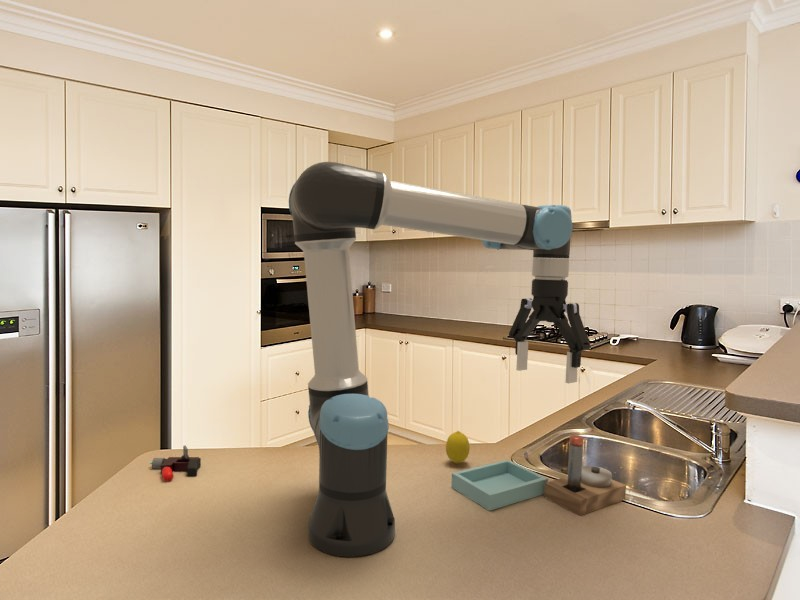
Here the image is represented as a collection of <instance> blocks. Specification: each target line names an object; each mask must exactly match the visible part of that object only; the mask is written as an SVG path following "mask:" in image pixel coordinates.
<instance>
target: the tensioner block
mask: <svg viewBox="0 0 800 600" xmlns="http://www.w3.org/2000/svg"><path fill="white" fill-rule="evenodd" d="M567 481H568V475H567V476H564V477H560V478H557V479H553V480H551V481H548V482H546V483H545V490H544V494H543V497H544V498H546V499H547V500H549V501H551V502H553V503H555V504H557V505H559V506H560V507H562V508H564V509H566V510H568V511H569V512H571V513H574V514H576V515H578V516H583V515H585V514H589V513H591V512H593V511H596V510H599V509H602V508H605V507H608V506H611V505H614V504H616V503H619V502H622V501H624V500H623V499H625V500H626V492H627V485H626V484H624V483H622V482H619V481H617V480H615V479H613V473H612V472H611V471H610V470H608V469H606V468H604V467H601V466H594V465H584V466H583V465H582V475H581V491H579V492H576V493H574V492H572V491H570V490H568V489H567Z"/></svg>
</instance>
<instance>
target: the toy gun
mask: <svg viewBox="0 0 800 600" xmlns="http://www.w3.org/2000/svg"><path fill="white" fill-rule="evenodd" d="M182 448H183V449H182V452H183V455H182V456H168V457H167V458H165V457H154V458H153V459H152V461H151V462H149V465H151V469H152V470H160V475H161V476H162V480H163V481H164V482H171V481H172V480H173V479H174V472H175V473H180V472H181V473H183V472H184V473H185V472H186V474H187V477H197V476H198V470H199V469H200V468H202V466H201V465H202V463H201V462H202V461H201V459H202V457H199V456H190V455H189V453H188V452H189V449H188V447H187V446H186V445H183V447H182Z"/></svg>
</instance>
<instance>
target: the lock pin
mask: <svg viewBox="0 0 800 600" xmlns="http://www.w3.org/2000/svg"><path fill="white" fill-rule="evenodd" d="M568 445H569V449H568V462H567V463H568V466H567V476H568V481H567V489H568V490H570V491H572V492H574V493H576V492H579V491H581V475H582V467H583V457H584V437H583V436H582V435H577V434H571V435H569V444H568Z"/></svg>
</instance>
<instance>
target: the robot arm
mask: <svg viewBox="0 0 800 600" xmlns="http://www.w3.org/2000/svg"><path fill="white" fill-rule="evenodd" d="M288 209H289V212H290V216H291V217H292V227H293V238H294V245H296V246H297V247H298V248H300V250H302V252H303V258H304V259H303V260H304V267H305V281H306V291H307V302H308V303H307V304H308V310H309V311H308V312H309V323H310V334H311V345H312V357H313V366H314V369H313V370H314V375H313V377H312V378H311V379H310V380H309V382H307V388H308V399H309V400H308V401H309V405H308V413H307V415H308V416H307V417H308V422H309V426H310V428H311V430H312V432H313V434H314V437H315V441H316V443H317V446H318V450H319V451H318V453H319V457H318V459H319V461H318V462H319V464H318V465H319V466H318V467H319V469H318V472H319V473H318V493H317V496H316V498H315V503H314V504H313V507H312V510H311V514H310V516H309V518H308V523H307V525H308V527H307V534H308V535H307V537H308V541H309V542H310V544H311V545H312V546H313V547H315V549H318V550H319V551H321V552H323V553H324V554H325V553H326V554H329V555H332V556H338V557H347V558H351V557H353V558H354V557H362V556H368V555H372V554H375V553H378V552H380V551H382V550H384V549H385V548H387V547H388V546H389V545H391V544H392V542H393V540H394V538H395V537H396V521H395V516H394V512H393V510H392V506H391V503H390V500H389V497H388V491H387V465H388V463H387V459H388V432H389V428H390V427H389V426H390V425H389V424H390V423H389V419H388V410H387V407H386V406H385V404H384V403H383V402H382V401H381V400H380V399H377V398H376V397H370V395H369V385H368V384H369V383H368V377H367V375H365V374H364V373H362V371H360V369H359V357H358V355H359V354H358V346H357V345H358V344H357V343H358V342H357V334H356V333H357V331H356V321H355V308H354V297H353V294H354V292H353V282H352V272H351V271H352V269H351V268H352V267H351V259H350V256H351V255H350V248H351V247H352V245H353V244H354V243H355V242H356V241H357V235H356V234H357V233H356V229H357V228H358V229H359V228H361V229H369V230H377V229H378V228H379V227H380V226H382V225H383V226H387V227H394V228H400V229H401V228H402V229H407V230H414V231H421V232H426V233H427V232H428V233H435V234H441V235H447V236H452V237H453V236H454V237H460V238H465V239H472V240H473V239H474V240H478V241H479V240H480V241H481V243H482V245H483V247H484V248H485V249H491V250H492V249H493V250H498V251H499V250H517V251H518V250H521V251H522V250H523V251H525V250H528V251H533V253H532V255H533V256H532V270H531V271H532V272H531V275H532V276H533V277H534V278H533V279H532V280H531V291H530V292H531V294H530V295H532V297H533V299H532V298H521V300H520V306H519V310H518V312H517V315H516V317H515V318H514V321H513V323H512V326H511V328H510V330H509V332H508V337H509V338H512V339H514V341H515V348H514V349H515V355H516V371H520V372H521V371H528V360H529V359H528V355H529V341H527V340H528V337H529V335H530V334H531V333H532V332H533V331H534V330H535V328H536V327H537V326H538V324H540V322H547V323H553V324H554V326H556V327H557V329H558V331H559V332H560V334H561V336H562V337H563V339H564V341H565V343H566V344H567V347H568V348H569V350H568V351H566V365H565V381H564V382H565V383H566V384H573V383H577V382H578V369H579V368H580V367H581V365H582V364H581V362H582V361H581V360H582V352H583V351H588V350H591V348H592V347H591V344H590V340H589V337H588V334H587V332H586V329H585V327H584V323H583V320H582V318H581V315H580V305H579V303H578V302H573V303H570V302H569V303H567V302H566V300H567V299H566V298H567V297H568V294H569V293H568V292H569V281H568V279H566V278H569V271H570V255H571V254H570V252H571V237H572V234H573V220H572V209H571V208H570V207H569V206H567V205H562V204H543V205H537V206H533V205H528V204H521V203H517V202H511V201H507V200H506V201H504V200H500V199H496V198H495V199H494V198H488V197H484V196H480V195H479V196H478V195H472V194H467V193H461V192H455V191H450V190H445V189H439V188H435V187H434V188H433V187H428V186H423V185H418V184H412V183H408V182H407V183H406V182H401V181H395V180H390V179H389V178H388V177H387V176H386V174H385V173H384V172H380V171H376V170H370V169H367V168H362V167H358V166H354V165H350V164H344V163H340V162H335V161H334V162H332V161H322V162H317V163H314V164H311V166H308V167H307V168H306V169H305V170H303V172H301V174H300V175H299V177H298V178H297V180H295V182H294V183H293V185H292V187H291V189H290V192H289V197H288ZM532 310H533V311H532ZM565 313H566V314H565ZM566 315H567V316H566Z"/></svg>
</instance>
